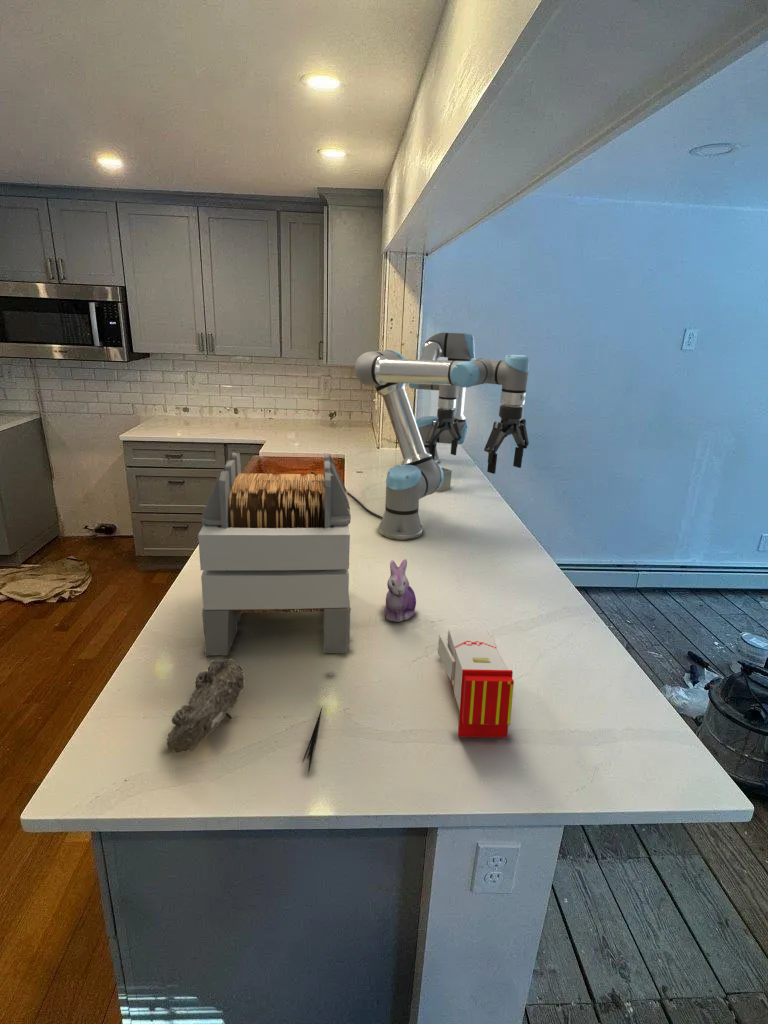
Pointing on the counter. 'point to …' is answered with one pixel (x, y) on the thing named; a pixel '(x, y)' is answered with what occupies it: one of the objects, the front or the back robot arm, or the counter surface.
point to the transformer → (275, 551)
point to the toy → (478, 682)
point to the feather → (313, 740)
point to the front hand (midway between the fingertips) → (504, 469)
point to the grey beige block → (445, 480)
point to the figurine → (399, 594)
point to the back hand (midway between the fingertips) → (442, 456)
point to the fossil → (206, 705)
